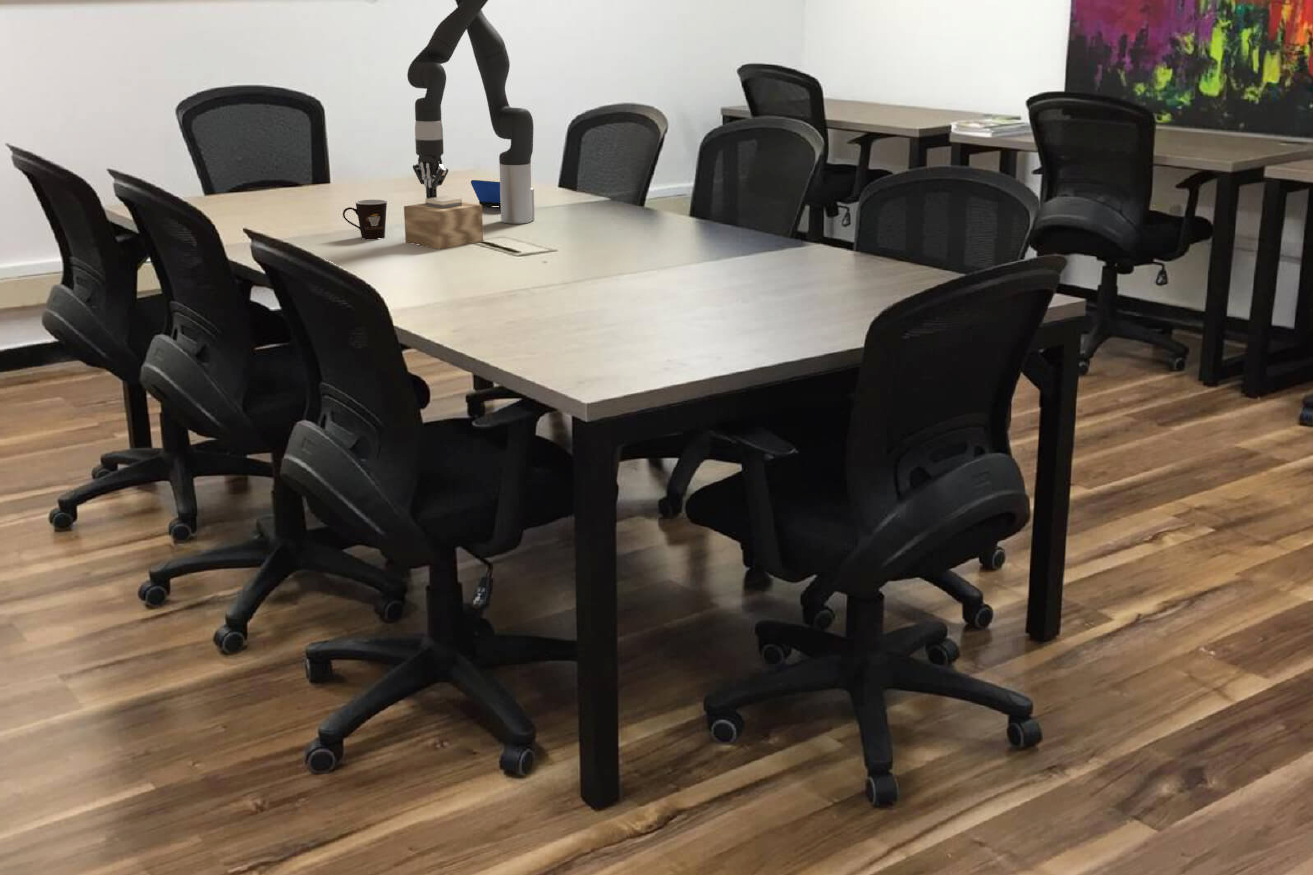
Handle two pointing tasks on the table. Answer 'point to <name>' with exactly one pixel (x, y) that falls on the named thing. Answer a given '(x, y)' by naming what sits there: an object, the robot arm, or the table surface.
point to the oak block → (443, 225)
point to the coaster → (443, 202)
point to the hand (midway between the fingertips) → (431, 200)
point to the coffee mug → (370, 218)
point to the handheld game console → (487, 192)
